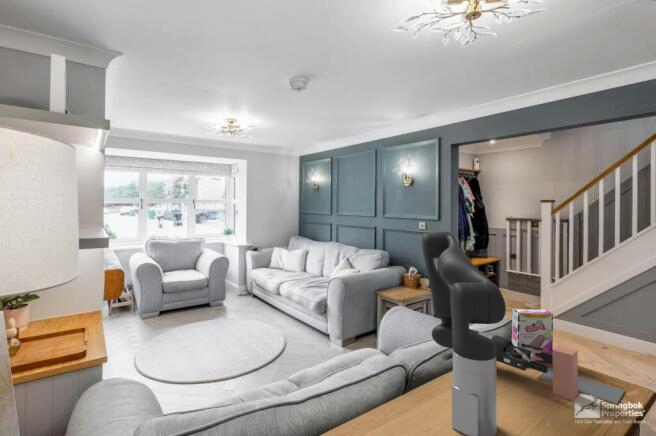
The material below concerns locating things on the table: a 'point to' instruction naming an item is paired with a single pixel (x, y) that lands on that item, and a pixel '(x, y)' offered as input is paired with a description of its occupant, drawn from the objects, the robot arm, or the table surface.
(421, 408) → the table surface
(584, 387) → the mat
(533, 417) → the table surface
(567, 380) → the block
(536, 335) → the candy bar box
